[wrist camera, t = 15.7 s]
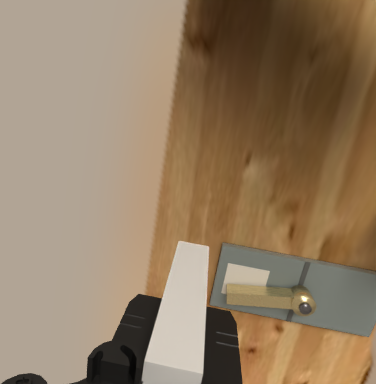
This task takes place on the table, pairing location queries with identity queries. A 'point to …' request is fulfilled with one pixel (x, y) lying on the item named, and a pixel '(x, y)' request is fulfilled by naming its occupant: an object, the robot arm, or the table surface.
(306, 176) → the table surface
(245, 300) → the latch bar
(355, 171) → the table surface
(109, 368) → the robot arm
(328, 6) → the table surface
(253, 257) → the door board
